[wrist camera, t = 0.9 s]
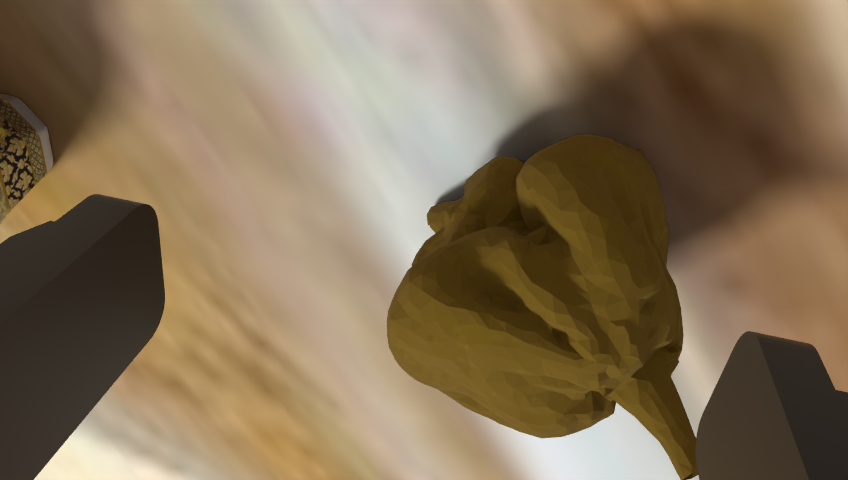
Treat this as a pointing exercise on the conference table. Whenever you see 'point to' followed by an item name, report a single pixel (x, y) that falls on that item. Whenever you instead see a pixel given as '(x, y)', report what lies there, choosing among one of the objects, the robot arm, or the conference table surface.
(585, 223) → the gourd
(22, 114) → the ceramic cup
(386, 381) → the conference table surface
